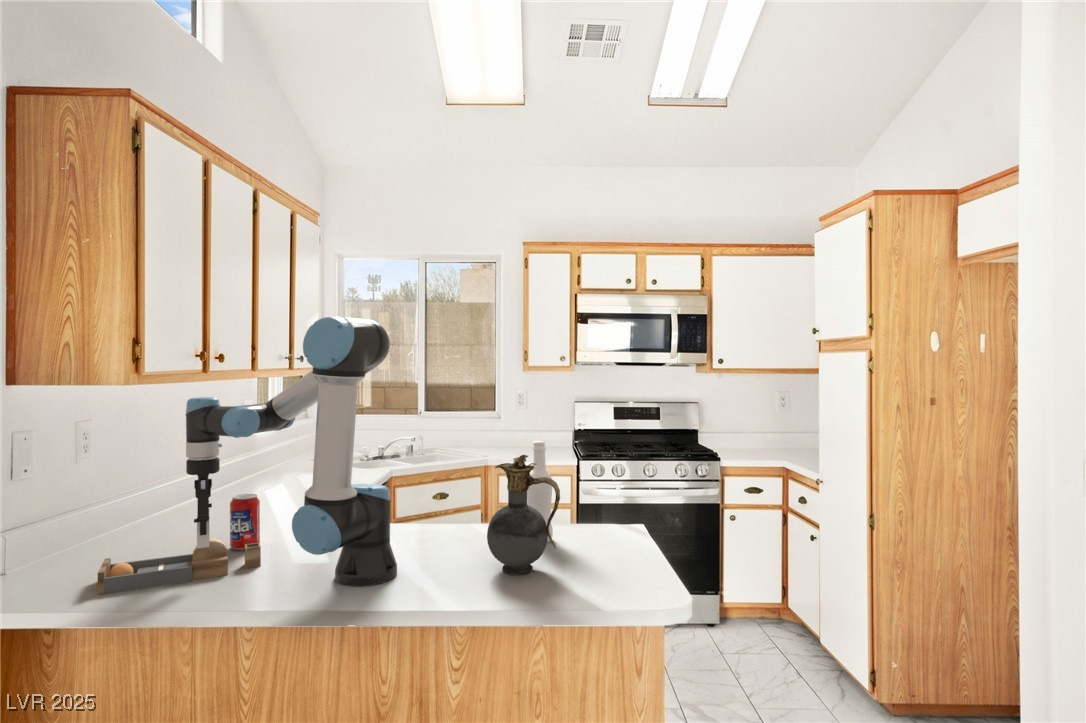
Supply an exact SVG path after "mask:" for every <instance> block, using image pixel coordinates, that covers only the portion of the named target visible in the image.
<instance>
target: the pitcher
mask: <svg viewBox="0 0 1086 723" xmlns="http://www.w3.org/2000/svg"><path fill="white" fill-rule="evenodd" d="M528 457H529V455H526V454H521V455H519V456H518V457H514V458H513V459H512V461H513V463H510V462H506V463H501V464H497V465H495V466H494V469H501V470H503V472H504V473H505V475H506V479H507V485H506V488H507V492H508V493H507V496H508V498H507V500H508V501H507V502H508V503H507V505H506V506H503V507H502V508H500V509H498V510H497V511H496V512H495V513H494V514H493V515H492V517H491V519H490V521H489V524H488V528H487V531H486V533H487V534H486V540H487V545H488V548H489V550H490V553H491V554H492V556H493V558H495V559H496V560H497V561H498V562H500V563H501V564H503V566H502V568H501V570H502V572H504V573H506V574H509V575H526V574H530V573H531V572H532V571H533V570H534V569H533V565H532V564H533V563H535V562H536V561H537V560H539V559H540V558H541V557H542V555H543V554H544V552H545V549H546V547H547V545H548V543H547V539H548V537H549V539H550V540H551V541H550V542H551V544H552V546H553V548H554V549H556V548H557V547H556V544H555V542H554V539H553V537H552V538H551V535H550V532H549V525H550V522H551V523H552V520H553V518H554V517H555V514H556V512H557V510H558V506H559V503H560V500H561V492H560V490H561V489H560V488H559V485H558V483H557V482H556V481H555V480H554V479H553V478H552V477H551V478H552V479H551V478H548V477H539V478H533V477H532V476H530V472H531V471H532V470H533V469H534V466H533V464H534V463H533V462H531V463H529V464H528V465H526V463H525V462H527V459H526V458H528ZM534 465H537V464H534ZM539 483H547V484H549V485H551V486H552V489H553V490H554V493H555V494H554V495H555V499H554V505H553V509H552V510H551V515H550V517H549V519H548V522H547V525H546V522H545V520H544V518H543V516H542V515H541V513H540V512H538V511H537V510H536V509H534V508H533V507H531V506H528V505H527V490H528V488H529V486H531V485H533V484H539Z"/></svg>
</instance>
